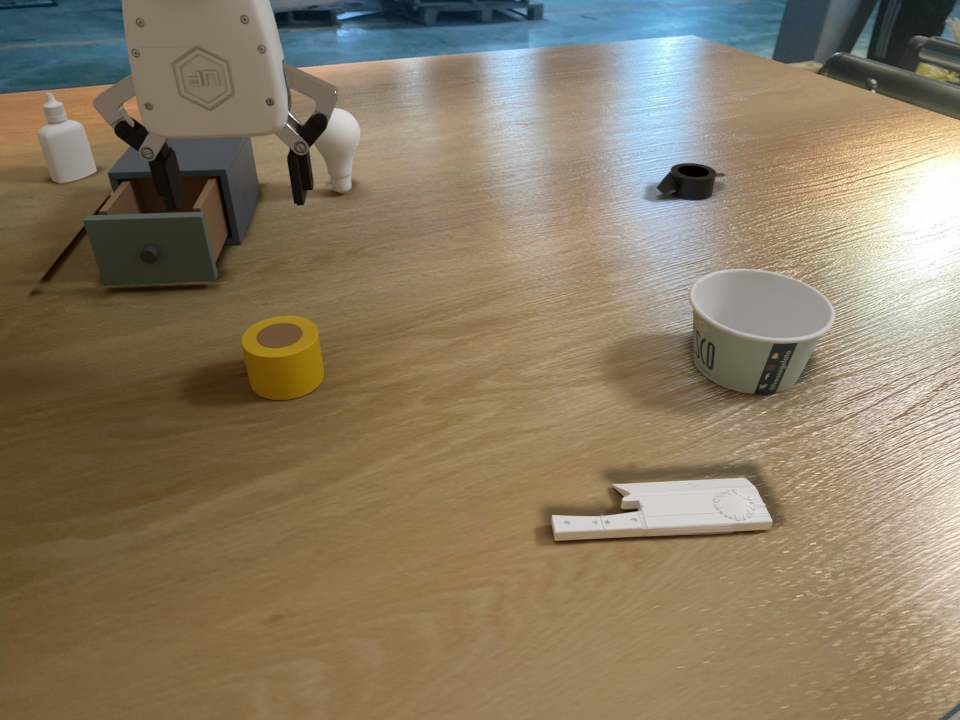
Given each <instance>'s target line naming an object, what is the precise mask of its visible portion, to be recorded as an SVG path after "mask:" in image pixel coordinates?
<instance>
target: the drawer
mask: <svg viewBox="0 0 960 720" xmlns="http://www.w3.org/2000/svg"><path fill="white" fill-rule="evenodd" d="M182 182H183V186H184V190H185V197H184V199H183V201H182V203H181V204H180V206H179V208H178V209H176V211H167V209H166V205H165V201H164V198H163V197H159V196H158V195H157V192H156V189H155V185H154V182H153V178H137V179H124V181H123V182H122V183H121V184H120V186H119V187H118V188H117V189H116V191H115V192H114V193H113V192H112V194H111V196H110V197H109V198H108V200H107V201H106V202H105V204H104V205H103V206H102V207H101V208H100V209H99V211H98V212H99V214H87V215H85V217H84V218H83V219H82V223H83V225H84V229H85V231H86V235H87V237H88V238H87V239H88V241H89V244H90V247H91V250H92V253H93V256H94V260H95V262H96V265H97V268H98V272H99V275H100V277H101V281H102V284H103V285H104V286H116V285H117V286H118V285H120V286H121V285H142V284H167V283H168V284H169V283H172V284H173V283H196V282H199V283H201V282H216V281H217V280H218V278H219V273H218V269H217V263H216V262H217V261H218V259H219V256H220V253H221V251H222V249H223V246H224V245H223V244H224V242H225V240H226V237H227V235H228V233H229V231H230V223H229V218H228V213H227V208H226V203H225V198H224V194H223V189H222V184H221V179H220V176H207V177H182Z"/></svg>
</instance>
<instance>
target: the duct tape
mask: <svg viewBox="0 0 960 720" xmlns="http://www.w3.org/2000/svg"><path fill="white" fill-rule="evenodd" d="M726 175H727V174H726V173H723V172H717V171H716V169H714V168H712V167H711V166H708V165H706V164H701V163H695V162H682V163H678V164H674V165H672V166H671V167H670V171H669V172H668V173H667V174H666V175H665V176H664V177H663V179H662V180H661V181H660V182H659V184H657V186H656V190H658V191H659V192H661V193H662V194H663V195H665V196H667V195H670V196H673V197H675V198H677V199H680V200H685V201H695V202H696V201H697V202H698V201H704V200H707V199H710V198H711V197H712V196H713V193H714V187H715V184H716V183H715V182H716V177H717V178H722V177H725V176H726Z"/></svg>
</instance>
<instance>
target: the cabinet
mask: <svg viewBox="0 0 960 720" xmlns="http://www.w3.org/2000/svg"><path fill="white" fill-rule="evenodd" d="M166 143H167V144H168V147H172V150H174V151H175V153H176V157H177V161H178V165H179V169H180V173H181V177H207V176H220V179H221V184H222V189H223V194H224V198H225V203H226V208H227V213H228V218H229V223H230V231H229V233H228V235H227V237H226V240H225V242H224V244H223V246H234V245H235V246H237V245H242V243H243V240H244V237H245V234H246V232H247V230H248V227H249V225H250V222H251V220H252V217H253V215H254V212H255V210H256V207H257V205H258V203H259V199H260V197H261V190H260V184H259V178H258V173H257V167H256V160H255V155H254V150H253V144H252V137H230V138H204V139H168V141H167V142H166ZM107 176H108V180H109V184H110V187H111V190H112V194H113V193H114V192H115V191H116V189H117V188H118V187H119V186H120V184H121V183H122V182H123V181H124V179H137V178H152V174H151V170H150V167H149V163H148V161H145V160H143V159H142V158H141V157H140V155H139V152H138V151H137V150H135V149H134V148H132V147H131V146H130V145H129V147H128V148H127V149H126V150H125V151H124V152H123V154H122V155H121V156H120V157H119V158H118V159H117V161H116V162H115V163H114V164H113V166H112V167H111V168H110V169H109V170H108V171H107Z"/></svg>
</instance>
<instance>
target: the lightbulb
mask: <svg viewBox="0 0 960 720" xmlns="http://www.w3.org/2000/svg"><path fill="white" fill-rule="evenodd" d="M361 136H362V135H361V128H360V125H359V123H358V121H357V119H356V117H355V116H353V115H352V114H351V113H350V112H349V111H347V110H345V109H343V108H338V107H337V108H336V107H334V110H333V112H332V115H331V117H330V120H329V122H328V125H327V128H326V130H325V131H324V132H323V133H322V134H321V135H320V137H319V138H318V139H317V140H316V141H315V142H314V144H313V145H314V147H315V148H316V150H317V151H318V153H319V154H320V155H321V156H322V159H323V160H324V162H325V165H326V170H327V174H328V176H329V177H330V183H331V188H332V190H333V191H334V192H337V193H338V194H341V195H343V194H346V193H347V192H348V191H350V190H351V188H352V173H353V161H354V157H355V153H356V151H357V149H358V147H359V144H360V142H361Z"/></svg>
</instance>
